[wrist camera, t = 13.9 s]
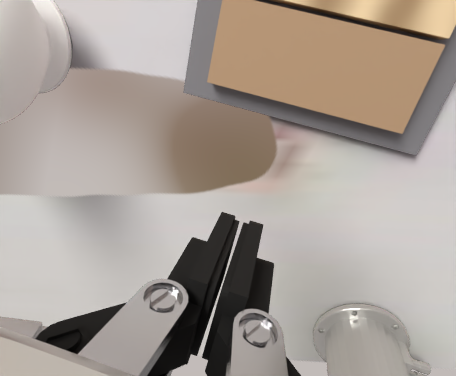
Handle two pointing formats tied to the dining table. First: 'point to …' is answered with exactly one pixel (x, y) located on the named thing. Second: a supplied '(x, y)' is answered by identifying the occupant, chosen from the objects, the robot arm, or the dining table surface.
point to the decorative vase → (30, 53)
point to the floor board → (312, 116)
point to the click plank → (391, 14)
